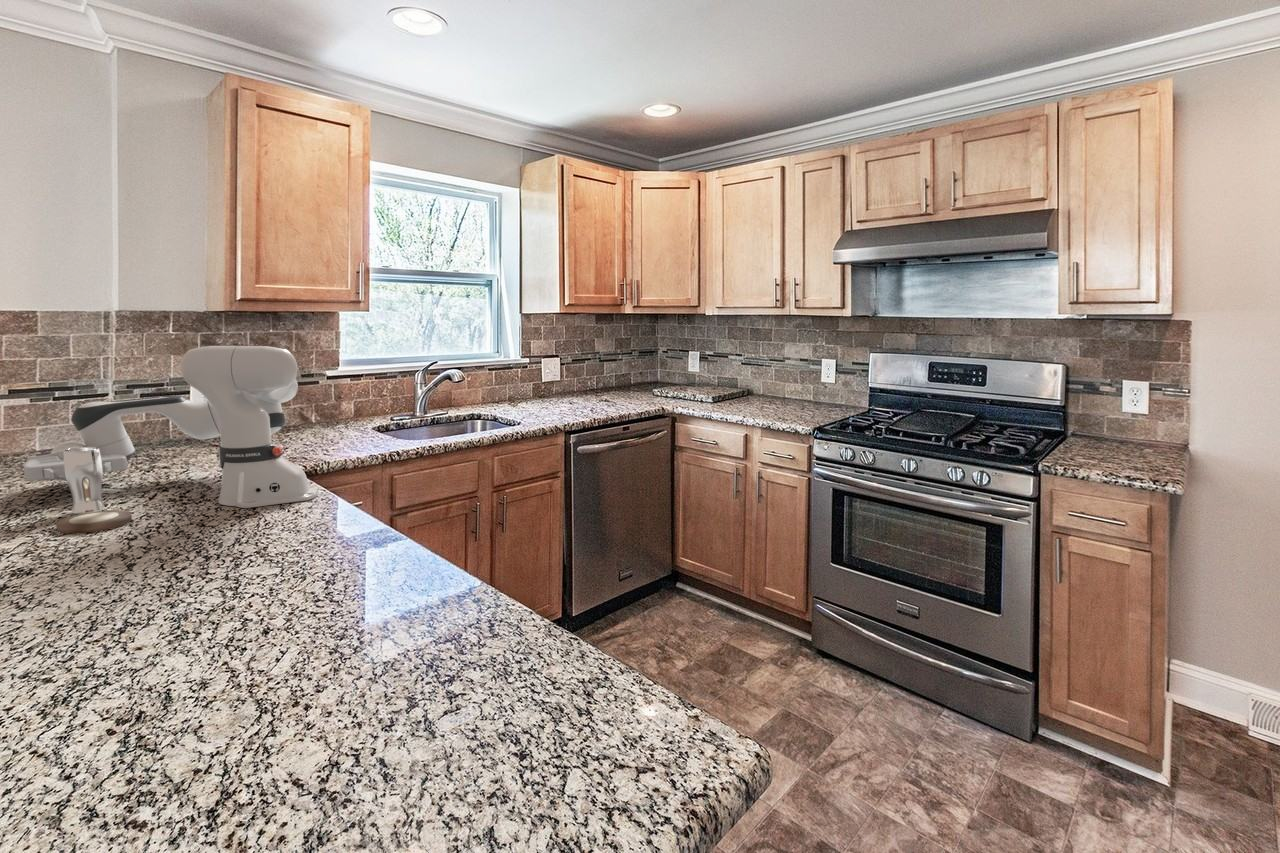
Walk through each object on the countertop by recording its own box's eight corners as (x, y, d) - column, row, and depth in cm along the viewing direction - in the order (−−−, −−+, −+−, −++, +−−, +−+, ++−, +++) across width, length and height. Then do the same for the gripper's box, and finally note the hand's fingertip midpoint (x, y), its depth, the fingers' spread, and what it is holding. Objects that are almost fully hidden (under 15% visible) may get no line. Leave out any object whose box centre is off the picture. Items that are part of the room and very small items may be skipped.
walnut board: (138, 514, 158) (137, 507, 158) (122, 529, 146) (121, 522, 146) (69, 520, 153) (68, 512, 153) (46, 536, 141) (45, 528, 141)
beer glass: (86, 516, 156) (78, 452, 154) (61, 514, 157) (53, 451, 155) (114, 508, 163) (107, 447, 161) (91, 506, 164) (84, 445, 162)
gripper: (125, 469, 184) (133, 478, 174) (24, 481, 170) (27, 491, 160) (122, 446, 183) (130, 454, 173) (21, 456, 169) (23, 465, 159)
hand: (80, 472), depth 166 cm, fingers open, 8 cm apart
